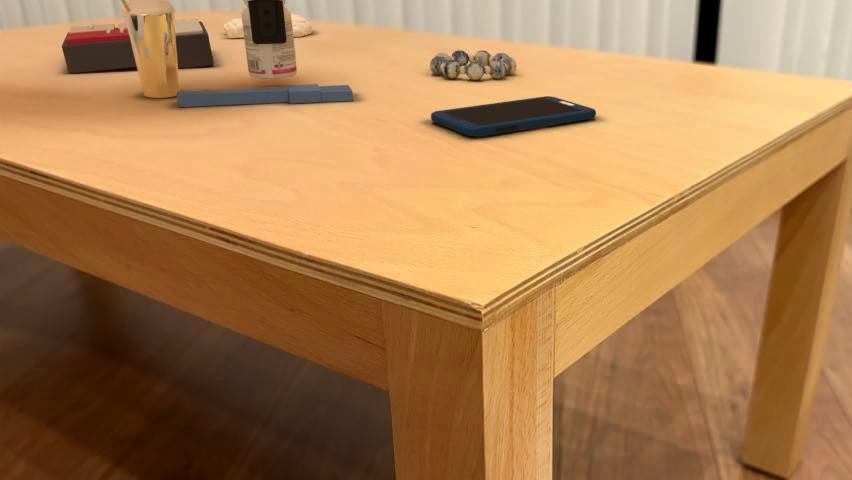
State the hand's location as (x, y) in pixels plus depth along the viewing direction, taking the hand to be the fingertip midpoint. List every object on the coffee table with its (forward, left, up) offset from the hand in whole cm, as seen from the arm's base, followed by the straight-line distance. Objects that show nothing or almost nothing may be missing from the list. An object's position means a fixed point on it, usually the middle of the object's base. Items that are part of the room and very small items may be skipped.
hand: (268, 37), depth 86 cm
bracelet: (+22, +4, -5) cm, 23 cm away
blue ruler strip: (-1, -6, -5) cm, 8 cm away
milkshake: (-11, -1, -5) cm, 12 cm away
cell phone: (+20, -19, -5) cm, 28 cm away
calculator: (-14, +18, -5) cm, 24 cm away
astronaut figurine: (+1, +39, -5) cm, 39 cm away
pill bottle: (0, 0, -4) cm, 4 cm away
